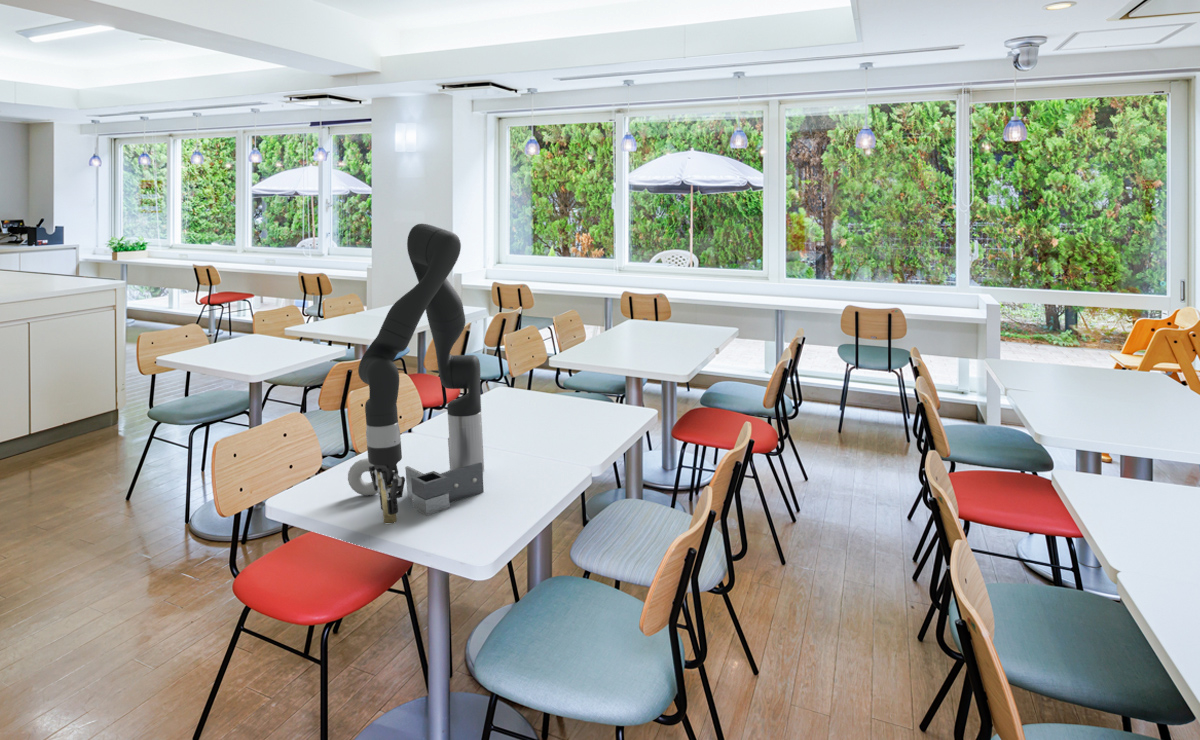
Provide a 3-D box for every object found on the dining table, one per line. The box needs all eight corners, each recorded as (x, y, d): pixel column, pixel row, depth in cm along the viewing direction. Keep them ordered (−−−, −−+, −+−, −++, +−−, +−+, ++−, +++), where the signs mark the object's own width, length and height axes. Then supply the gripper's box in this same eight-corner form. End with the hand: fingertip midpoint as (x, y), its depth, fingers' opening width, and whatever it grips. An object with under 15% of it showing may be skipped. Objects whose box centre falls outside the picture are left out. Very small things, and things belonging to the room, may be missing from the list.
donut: (348, 499, 184) (344, 462, 182) (350, 494, 187) (347, 457, 185) (388, 496, 185) (385, 459, 183) (390, 491, 189) (387, 455, 187)
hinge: (397, 499, 183) (395, 469, 181) (459, 480, 195) (457, 452, 194) (426, 515, 173) (424, 484, 171) (489, 494, 185) (488, 465, 183)
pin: (378, 521, 170) (374, 473, 167) (394, 516, 173) (390, 469, 170) (386, 526, 167) (382, 477, 165) (402, 521, 170) (398, 473, 167)
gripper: (413, 444, 163) (418, 515, 167) (384, 431, 173) (390, 499, 177) (383, 452, 158) (388, 525, 162) (354, 438, 168) (361, 507, 172)
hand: (389, 511), depth 169 cm, fingers closed on pin, 3 cm apart
